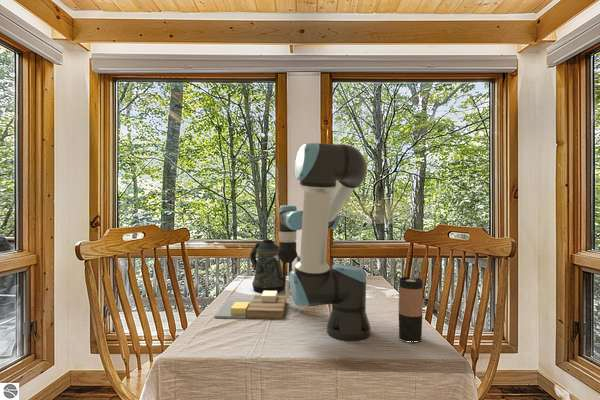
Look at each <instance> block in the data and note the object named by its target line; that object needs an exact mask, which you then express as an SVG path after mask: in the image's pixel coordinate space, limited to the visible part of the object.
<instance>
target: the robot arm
mask: <svg viewBox="0 0 600 400" xmlns="http://www.w3.org/2000/svg"><path fill="white" fill-rule="evenodd" d="M366 175H367V162H366V159H365V156H364V155H363V154H362V153H361V151H360V150H359V149H358V148H356V147H355V146H352V145H350V144H336V143H335V144H334V143H318V142H316V143H315V142H310V143H308V142H307V143H304V144H303V145H301V146H300V148H299V149H298V151H297V154H296V159H295V163H294V176H295V179H296V180H297V181H299V186H300V187H301V188H302V189H303V202H302V203H303V204H302V210H297V206H296V205H280V206H279V210H278V211H279V212H278V219H279V220H278V223H279V224H278V230H279V231H278V241H279V242H278V247H279V252H278V255H277V256H275V257H273V261H274V262H275V265H276V270H277V274H278V278H279V280H282V281H283V288H284V293H285V294H284V296H285V297H286V298H289V297H290V296H291V298H292V299H291V300H293V302H294V304H295V305H297V307H311V306H326V305H331V311H330V315H329V318H328V320H327V324H326V333H327V335H329V336H330V337H332V338H334V339H338V340H344V341H361V340H365V339H367V338H369V337H370V336H371V333H372V332H371V324H370V322H369V318H368V315H367V311H366V309H367V307H366V306H367V305H366V304H367V275H366V274H367V273H366V271H365V270H364V269H363V268H361V267H359V266H354V265H348V264H343V263H342V264H341V263H336V264H333V265H332V267H330V265H329V264H328V263H327V248H328V247H327V246H328V233H329V230H334V229H336V228H338V225H339V221H340V220H339V219H340V216H339V214H340V211H341V210H342V208H343V207H344V205H345V204H346V202H347V201H348V199H349V198H350V197H351V195H352V193H353V192H354V190H355V189H357V188H359V187H360V186H361V185H362V183H363V182H364V181H365V178H366ZM300 230H301V237H300V240H301V241H300V254H299V255H298V252H297V242H296V241H297V233H298V232H297V231H300ZM278 257H279V258H280V262H282V270H281V271H282V276H283V277H282V276H281V271H280V267H279V263H278V260H279V259H278ZM295 260H296V263H295V266H294V270H293V262H294V261H295ZM287 263H288V279H287ZM290 294H291V295H290Z"/></svg>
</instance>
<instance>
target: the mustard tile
mask: <svg viewBox="0 0 600 400" xmlns="http://www.w3.org/2000/svg"><path fill="white" fill-rule="evenodd" d="M249 305H250V302H235V303H234V304H233V306H232V307H231V315H246V314H247V309H248V307H249Z"/></svg>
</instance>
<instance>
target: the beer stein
mask: <svg viewBox="0 0 600 400" xmlns="http://www.w3.org/2000/svg"><path fill="white" fill-rule="evenodd" d="M278 252H279V245H277V244H276V243H275V242H274V240H273V239H263V240H262V241H261V242H256V244H255V246H254V247H252V249H251V252H250V253H249V257H250V258H249V259H250V263H251V264H252V267H253V269H254V270H255V271H254V272H255V273H254V277H253V281H252V289H253V290H252V291H254V292H256V293H261V294H262V293H263V291H277V293H281V292H283V291H285V288H283V281H282V280H279V278H278V274H277V270H276V265H275V262H274V261H273V257H275V256H277V255H278ZM278 259H279V260H278V263H279V267H280V271H281V276H282V277H283V270H282V267H281V260H280V258H279V257H278ZM282 290H283V291H282ZM280 291H281V292H280Z"/></svg>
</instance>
